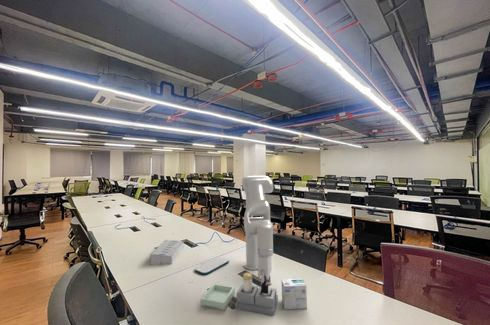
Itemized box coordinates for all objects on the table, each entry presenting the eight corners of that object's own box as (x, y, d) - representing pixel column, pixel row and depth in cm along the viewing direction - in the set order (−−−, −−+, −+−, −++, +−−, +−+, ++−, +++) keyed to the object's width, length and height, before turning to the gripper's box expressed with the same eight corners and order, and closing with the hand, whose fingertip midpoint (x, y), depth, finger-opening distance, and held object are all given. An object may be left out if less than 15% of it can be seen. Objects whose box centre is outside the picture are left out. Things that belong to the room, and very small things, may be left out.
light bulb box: (303, 299, 105) (302, 277, 105) (307, 309, 98) (307, 285, 98) (281, 300, 104) (280, 278, 105) (284, 310, 98) (283, 286, 98)
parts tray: (213, 290, 115) (213, 283, 115) (235, 293, 111) (234, 286, 111) (200, 306, 101) (200, 298, 101) (224, 310, 98) (224, 303, 98)
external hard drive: (205, 277, 129) (205, 273, 129) (192, 271, 136) (192, 268, 136) (230, 262, 148) (230, 259, 148) (218, 258, 155) (218, 256, 155)
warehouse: (171, 264, 147) (171, 253, 147) (150, 265, 147) (150, 254, 147) (183, 248, 177) (183, 239, 177) (165, 248, 177) (165, 239, 177)
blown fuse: (262, 297, 104) (262, 274, 104) (271, 299, 102) (271, 275, 103) (260, 303, 100) (259, 279, 100) (270, 304, 98) (269, 280, 98)
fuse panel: (242, 293, 111) (242, 281, 111) (277, 299, 105) (277, 287, 106) (235, 308, 99) (234, 295, 99) (273, 315, 94) (273, 301, 94)
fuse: (244, 294, 106) (244, 272, 107) (253, 296, 105) (253, 273, 105) (242, 299, 102) (241, 276, 103) (251, 301, 101) (250, 277, 101)
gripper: (261, 244, 111) (262, 279, 110) (252, 257, 95) (253, 299, 94) (275, 245, 109) (276, 281, 108) (269, 259, 92) (270, 302, 92)
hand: (265, 289), depth 101 cm, fingers closed on blown fuse, 4 cm apart
